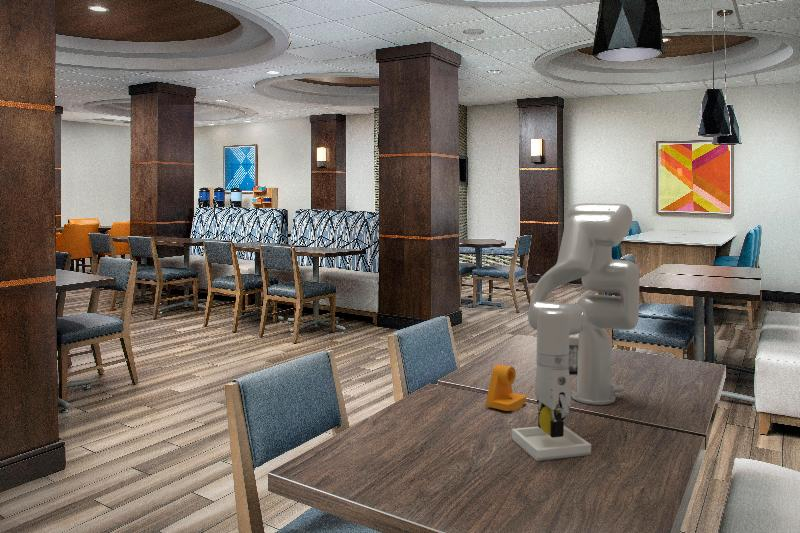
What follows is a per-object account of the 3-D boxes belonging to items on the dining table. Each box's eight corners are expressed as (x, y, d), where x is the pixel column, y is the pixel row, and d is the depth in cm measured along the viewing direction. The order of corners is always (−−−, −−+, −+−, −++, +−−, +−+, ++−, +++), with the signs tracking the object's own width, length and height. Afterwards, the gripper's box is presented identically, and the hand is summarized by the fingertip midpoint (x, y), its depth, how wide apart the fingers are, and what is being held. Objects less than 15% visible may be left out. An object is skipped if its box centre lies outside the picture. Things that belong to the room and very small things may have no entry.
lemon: (535, 431, 157) (536, 400, 156) (557, 431, 157) (558, 399, 156) (542, 440, 151) (543, 408, 150) (565, 439, 152) (566, 407, 151)
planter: (557, 363, 232) (558, 335, 231) (592, 368, 224) (592, 339, 223) (544, 370, 221) (545, 341, 220) (579, 376, 214) (580, 346, 213)
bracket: (508, 414, 178) (508, 372, 176) (486, 408, 182) (486, 368, 181) (527, 404, 186) (528, 364, 184) (506, 399, 190) (506, 360, 189)
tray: (561, 433, 163) (562, 424, 163) (590, 454, 150) (591, 444, 149) (511, 438, 160) (511, 429, 159) (536, 461, 146) (536, 450, 146)
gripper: (585, 367, 145) (582, 443, 147) (549, 350, 161) (547, 418, 163) (555, 370, 143) (553, 447, 145) (522, 351, 160) (521, 421, 162)
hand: (550, 431), depth 154 cm, fingers closed on lemon, 5 cm apart
